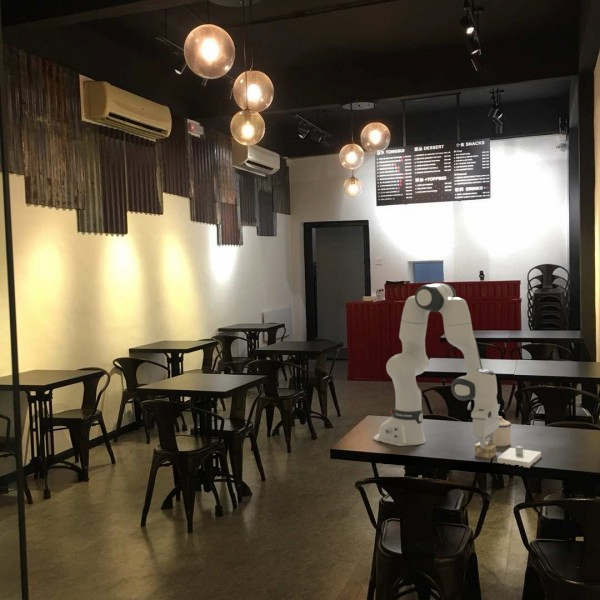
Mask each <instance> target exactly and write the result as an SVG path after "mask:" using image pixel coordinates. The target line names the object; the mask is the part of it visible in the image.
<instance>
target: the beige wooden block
mask: <svg viewBox="0 0 600 600" xmlns="http://www.w3.org/2000/svg"><path fill="white" fill-rule="evenodd" d="M485 443H486V447H485V448H481V447H480V441H478V442H476V443H475V444H474V457H479V458H485V459H493V458H494V457H495V456H496V455H497V446H496V443H490V442H489V441H485Z"/></svg>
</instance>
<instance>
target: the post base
mask: <svg viewBox="0 0 600 600" xmlns="http://www.w3.org/2000/svg"><path fill="white" fill-rule="evenodd" d="M540 457H541V458H542V451H538V450H537V451H535V450H530V449H524V446H521V445H516V446H515V447H509V448H507V449H506V450H505V451H504V452H502V453H501V454H500V455H498V456H497V459H496V461H497V462H496V463H498V464H503V463H505V464H504V465H509V464H510V465H509V466H515V465H519V466H518V467H521V466H523V467H522V468H529V469H530V468H531V467H532V466H533V465H534V464H535V463H537V461H538V460H539V459H541V458H540ZM534 462H535V463H534ZM533 463H534V464H533ZM532 464H533V465H532ZM531 465H532V466H531ZM530 466H531V467H530Z"/></svg>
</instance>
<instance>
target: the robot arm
mask: <svg viewBox="0 0 600 600" xmlns="http://www.w3.org/2000/svg"><path fill="white" fill-rule="evenodd" d="M456 293H457V292H456V290H455V288H454V287H453V286H452V285H450V284H448V283H443V282H441V283H440V282H435V283H434V282H433V283H431V284H430V283H429V284H424V285H422V286H420V287H419V288H417V289H416V292H415V294H414V295H412V296H409V297H408V298H407V299H406V300H405V303H404V306H403V310H402V313H401V321H400V328H399V334H398V336H399V339H400V341H401V346H402V351H401V353H397V354H394V355H393V356H391V357H390V358H389V359H388V360H387V362H386V365H385V366H386V367H385V369H386V372H387V373H386V374H387V375H389V377H390V378H391V379H392V383H393V387H394V393H395V408H393V409H392V410H390V414H391V415H392V416H391V417H390V418H388V419H387V420H385V421H383V423H381V424H380V427H379V429H378V430H379V432H378V433H377V434H376V435H375V436H374V437H373V441H376V442H377V441H378V442H380V441H381V443H384V444H389V445H392V446H393V445H394V446H398V447H405V446H417V445H422V444H425V443H426V437H425V434H424V428H423V427H424V426H423V421H424V420H423V419H424V417H423V415H424V414H423V408H422V391H421V389H420V388H419V386H418V384H417V380H416V378H417V377H416V376H418V375H422V374H423V373H424V372H425V371H427V369H428V368H429V366H430V360H429V358H428V356H427V353H426V351H427V350H426V335H427V328H428V320H429V315H430V313H431V312H435V313H438V312H439V314H441V316H442V320H443V329H444V335H445V338H446V341H447V342H448V343H449V344H450V345H452V346H453V347H456V348H457V349H458V350H460V351H461V353H462V354H463V357H464V361H465V367H466V375H462V376H459V377H457V378H455V379H453V381H452V382H451V386H450V387H451V388H450V389H451V393H452V395H453V396H454V398H455V399H457V400H458V401H468V400H473V401H474V406H473V409H472V411H471V413H470V416H471V418H472V433H473V437H474V438H475V439H478V442H480V447H481V448H485V447H486V443H485V442H486V438H487V437H486V436H487V435H489V438H488V441H487V442H493V441H494V435H495V430H497V429H498V428H499V417H498V416H499V411H498V410H499V409H498V408H499V405H498V399H497V398H498V397H497V395H498V382H497V376H496V374H495V372H494V371H493V370H490V369H486V368H483V365H482V360H481V356H480V351H479V348H478V344H477V340H476V338H475V335H474V331H473V324H472V319H471V318H472V317H471V313H470V310H469V306H468V303H467V301H466V300H465V299H464V298H461V297H458V296H457V294H456Z"/></svg>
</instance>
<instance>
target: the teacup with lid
mask: <svg viewBox="0 0 600 600" xmlns="http://www.w3.org/2000/svg"><path fill="white" fill-rule="evenodd" d="M498 417H499V428H498V429H497V430H495V435H494V441H493V442H490V443H496V447H508V445H509V446H510V445H511V443H512V442H511V441H512V440H511V437H512V436H511V426H512V423H511V422H510V421H508V420H505V419H504V418H503V416H501V415H498ZM485 438H489V436H486V437H485Z"/></svg>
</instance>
